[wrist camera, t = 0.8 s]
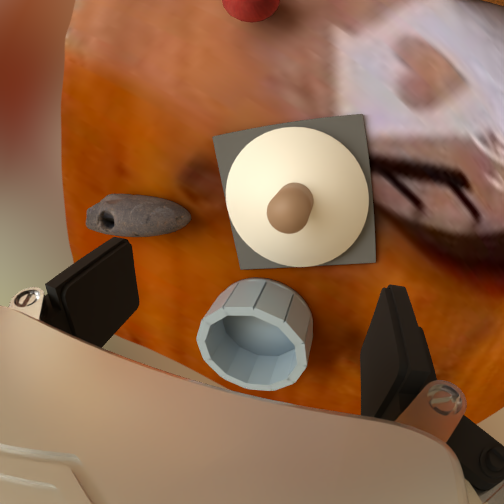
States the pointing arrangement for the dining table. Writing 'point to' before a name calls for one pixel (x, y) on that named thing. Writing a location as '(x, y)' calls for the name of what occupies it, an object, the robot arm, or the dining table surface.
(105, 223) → the perforated stone tool
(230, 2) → the onion
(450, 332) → the dining table surface
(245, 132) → the mat
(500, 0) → the coffee package
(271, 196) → the lid
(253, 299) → the bowl
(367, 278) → the dining table surface
